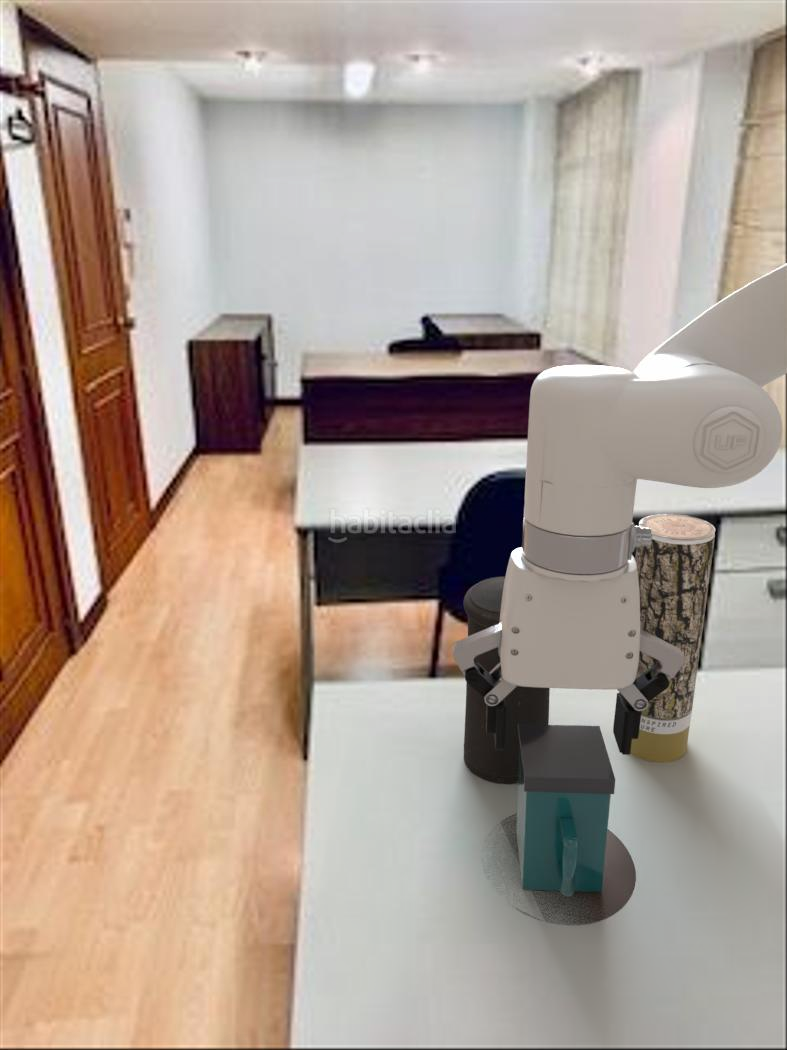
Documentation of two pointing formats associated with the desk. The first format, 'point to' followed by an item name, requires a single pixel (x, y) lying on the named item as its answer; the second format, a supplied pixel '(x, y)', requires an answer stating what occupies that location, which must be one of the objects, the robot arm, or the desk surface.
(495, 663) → the container
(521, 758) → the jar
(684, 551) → the paper tube
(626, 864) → the turntable
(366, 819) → the desk surface
